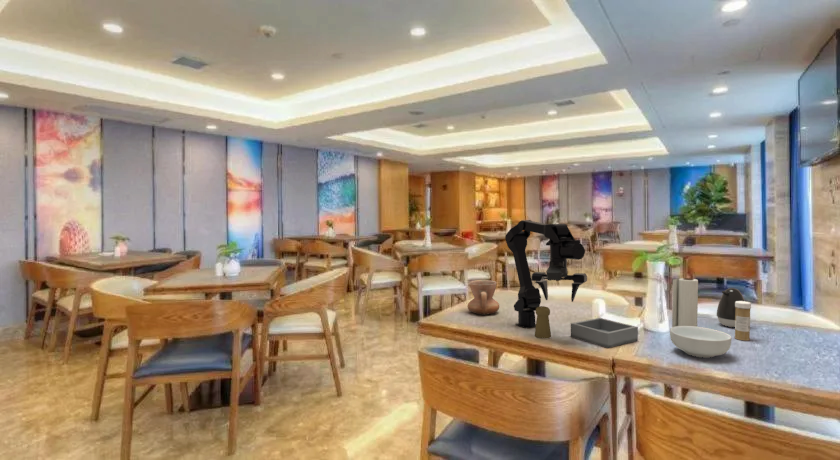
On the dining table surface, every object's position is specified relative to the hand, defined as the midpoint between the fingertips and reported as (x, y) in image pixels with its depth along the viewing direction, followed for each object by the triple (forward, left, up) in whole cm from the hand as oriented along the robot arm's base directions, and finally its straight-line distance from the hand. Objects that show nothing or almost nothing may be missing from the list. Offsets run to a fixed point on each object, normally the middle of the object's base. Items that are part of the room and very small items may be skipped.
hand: (559, 300), depth 162 cm
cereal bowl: (+36, +25, -14) cm, 46 cm away
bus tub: (+9, +13, -14) cm, 21 cm away
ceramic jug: (-46, +1, -14) cm, 48 cm away
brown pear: (-5, -3, -14) cm, 15 cm away
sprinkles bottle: (+35, +54, -14) cm, 66 cm away
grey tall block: (+23, +40, -14) cm, 48 cm away
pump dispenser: (+24, +70, -14) cm, 75 cm away
